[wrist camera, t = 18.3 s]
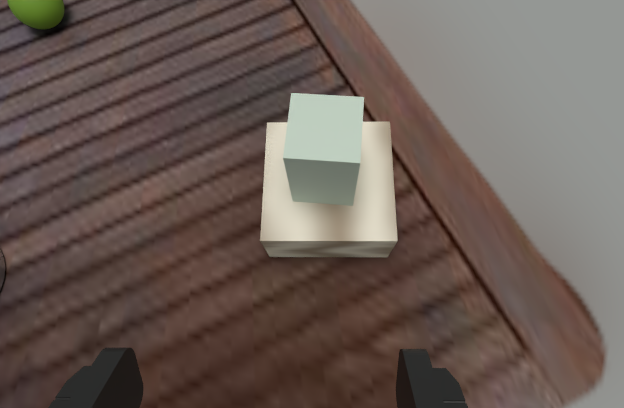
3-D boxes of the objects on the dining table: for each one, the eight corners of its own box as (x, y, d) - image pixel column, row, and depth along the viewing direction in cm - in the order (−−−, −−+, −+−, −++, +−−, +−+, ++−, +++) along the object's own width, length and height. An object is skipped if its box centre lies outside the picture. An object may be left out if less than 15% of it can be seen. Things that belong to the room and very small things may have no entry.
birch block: (270, 257, 38) (260, 240, 33) (275, 153, 42) (267, 122, 36) (387, 258, 38) (397, 241, 32) (381, 153, 42) (389, 121, 36)
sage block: (292, 201, 34) (283, 157, 26) (298, 148, 35) (291, 93, 28) (352, 205, 33) (360, 163, 26) (356, 151, 35) (363, 97, 28)
